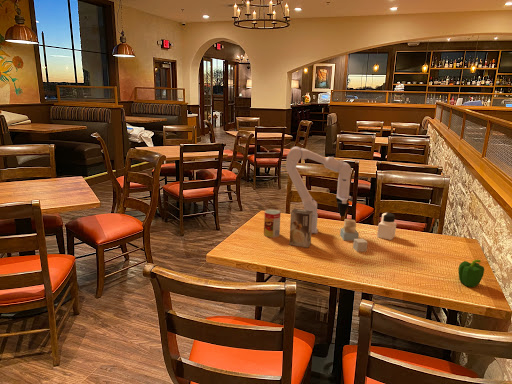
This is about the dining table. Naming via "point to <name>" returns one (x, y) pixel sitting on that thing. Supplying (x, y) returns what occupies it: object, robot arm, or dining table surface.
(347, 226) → the maple cube
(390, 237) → the medicine bottle
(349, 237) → the slate block
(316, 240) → the dining table surface
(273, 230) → the canned food
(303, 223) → the coffee box
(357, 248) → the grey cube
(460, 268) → the bell pepper
